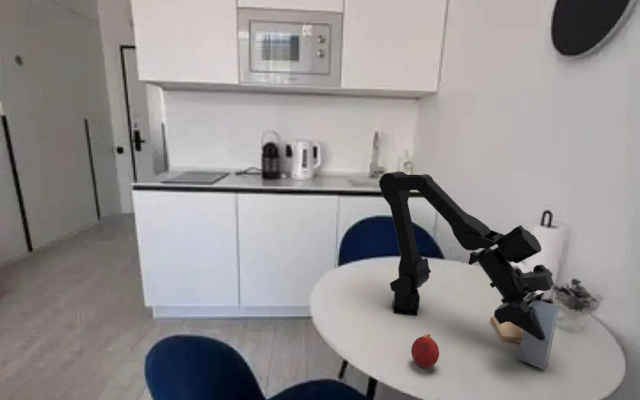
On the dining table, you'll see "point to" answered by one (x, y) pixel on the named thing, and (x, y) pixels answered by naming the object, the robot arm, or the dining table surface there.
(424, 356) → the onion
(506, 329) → the cork pad
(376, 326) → the dining table surface
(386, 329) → the dining table surface
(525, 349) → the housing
